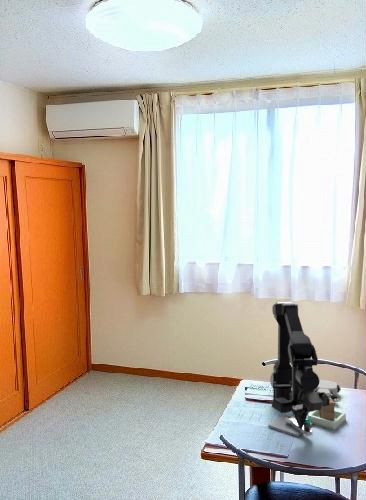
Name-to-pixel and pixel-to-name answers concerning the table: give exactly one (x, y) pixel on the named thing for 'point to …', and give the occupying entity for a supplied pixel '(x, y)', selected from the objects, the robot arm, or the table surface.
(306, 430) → the crank
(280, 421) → the crank base
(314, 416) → the tray
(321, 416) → the brown block
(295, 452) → the table surface
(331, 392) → the robot toy
